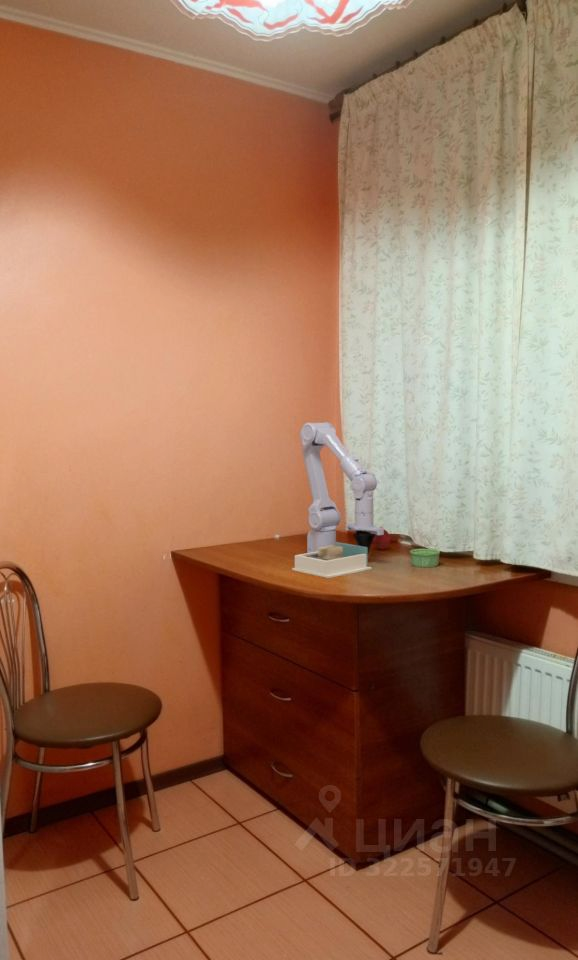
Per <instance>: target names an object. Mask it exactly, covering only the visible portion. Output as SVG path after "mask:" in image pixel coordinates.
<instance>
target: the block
mask: <svg viewBox="0 0 578 960" xmlns="http://www.w3.org/2000/svg"><path fill="white" fill-rule="evenodd" d="M318 557H319V558H324V559H329V560H332V559H337V558H342V557H343V547H339V546H333V545H332V546H326V547H321V548H318Z"/></svg>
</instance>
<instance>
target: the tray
mask: <svg viewBox="0 0 578 960" xmlns="http://www.w3.org/2000/svg"><path fill="white" fill-rule="evenodd" d="M336 546H339V547H343V557H349V556H354V555H359V554H366V566H368V563H369V561H368V556H369V554H368V547H363V546H358V544H357V545H356V544H350V543H344V542H338V541H336ZM306 557H311V558H316V559H321V560H326V561H327V560H329V559H324V558H319V557H318V554H313V555H307V556H306ZM343 557H342V558H343ZM337 559H338V558H337ZM332 560H333V559H332Z"/></svg>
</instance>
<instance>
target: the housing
mask: <svg viewBox="0 0 578 960" xmlns="http://www.w3.org/2000/svg"><path fill="white" fill-rule="evenodd" d="M313 554H318V551H316V552H311V553H307V552H306V553H300V554H295V555H294V567H292V568H291V569H292V571H295V572H300V573H304V574H307V575H308V574H309V575H313V576H317V577H322V578H326V579H332V578H337V577H340V576H346V575H350V574H354V573H361V572H364V571H365V572H366V571H370V570H372V569H373V567H372V566H368V565H367V566H366V554H359V555H354V556H349V557H343V558H338V559H333V560H327V561H326V560H321V559H316V558H311V557H306V556H307V555H313Z"/></svg>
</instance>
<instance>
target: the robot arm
mask: <svg viewBox="0 0 578 960" xmlns="http://www.w3.org/2000/svg"><path fill="white" fill-rule="evenodd" d="M299 435H300V440H301V444H302V445H301V446H302V447H301V451H302V456H303V457H302V458H303V461H304V467H305V471H306V474H307V479H308V484H309V489H310V494H311V498H312V503H311V504H310V506H309V507H308V508H307V509H308V524H309V526H310V527H311V529H310V530H309V531H308V532H307V537H306V545H307V546H306V547H307V550H306V551H307V552H306V553H311V552H316V551H318V548H321V547H326V546H332V545H333V546H336V542H337V531H336V530H337V529H338V526H339V525H340V524H341V520H342V518H341V513H340V511H339V510H338V508H337V505H336V503H335V502H334V501H333V500H331V498H330V496H329V491H328V487H327V482H326V478H325V477H326V476H325V472H324V469H323V462H322V458H321V455H320V452H321V451H322V449H323V448H324V447H325V446H326V447H327V448H328V449H329V450H330V451H331V453H333V455H334V456H335V457H336V459H338V460H339V461H340V463H339V468H340V469H341V470H342V471H343V473H344V474H345V476H346V477H347V478H348V479H349V481H350V488H351V490H352V493H353V497H354V523H346V524H345V531H352V532H355V533H353V534H352V536H353V537H354V540H355V541H356V543H357V546H363V547H368V555H369V553H370V549H371V545H372V542H374V540H373V539H374V537H375V534H377V535H384V530H385V528H384V527H382V528H380V526H375V525H374V491H375V490H376V489H377V486H378V480H377V477H376V475H375V474H374V473H372V472H369V471H368V470H367V469H366V468H365V467H364V466H363V465H362V464H361V462H360V461H359V458H358V456H355V455H353V454H352V455H351V454H349V452H348V450H347V449H346V448H345V446H344V445H343V443H342V441H340V438H339V437H338V436H337V430H336V428H334V427H333V424H331V422H329V421H325V422H305V423H304V424H303V426H302V428H301V429H300V432H299Z"/></svg>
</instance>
